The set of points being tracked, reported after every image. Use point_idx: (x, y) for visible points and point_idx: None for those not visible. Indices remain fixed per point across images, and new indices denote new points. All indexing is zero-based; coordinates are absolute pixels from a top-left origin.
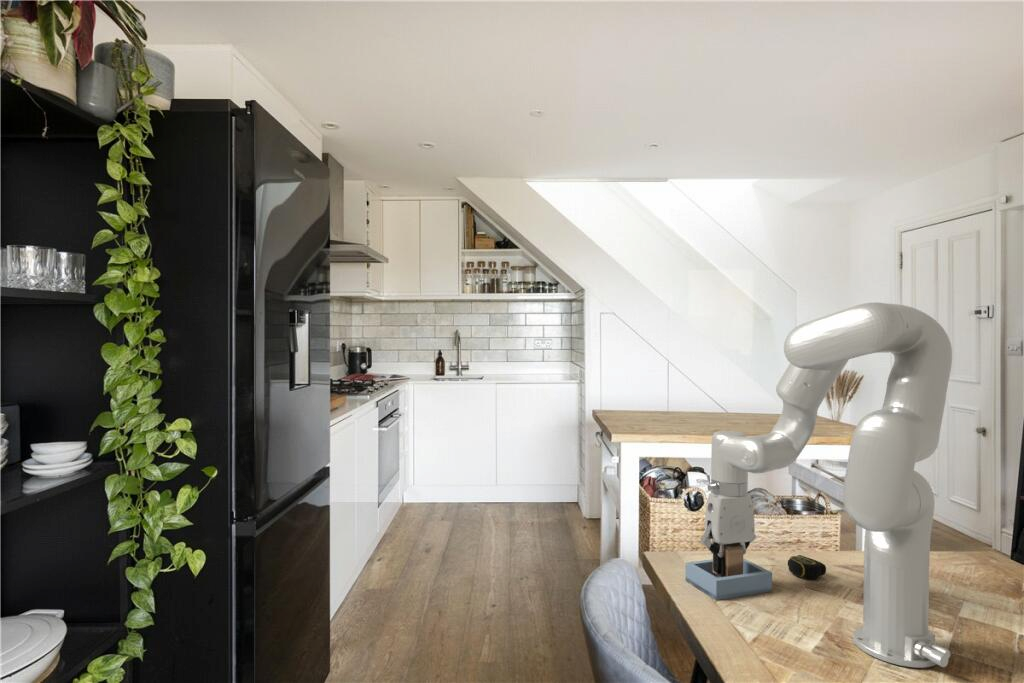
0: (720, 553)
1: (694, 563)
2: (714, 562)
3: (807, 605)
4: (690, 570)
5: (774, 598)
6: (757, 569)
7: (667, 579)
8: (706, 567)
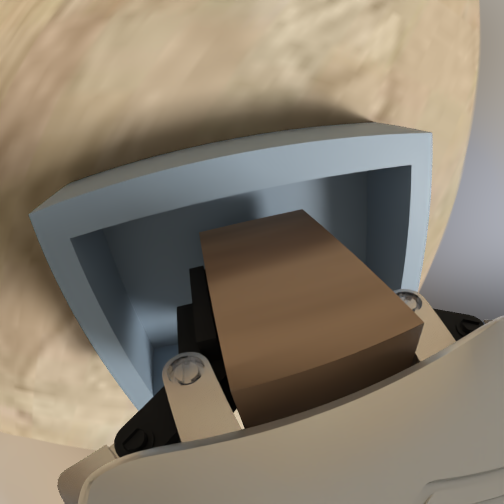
0: (415, 306)
1: None
2: None
3: (8, 47)
4: None
5: (96, 104)
6: (92, 282)
7: None
8: None
